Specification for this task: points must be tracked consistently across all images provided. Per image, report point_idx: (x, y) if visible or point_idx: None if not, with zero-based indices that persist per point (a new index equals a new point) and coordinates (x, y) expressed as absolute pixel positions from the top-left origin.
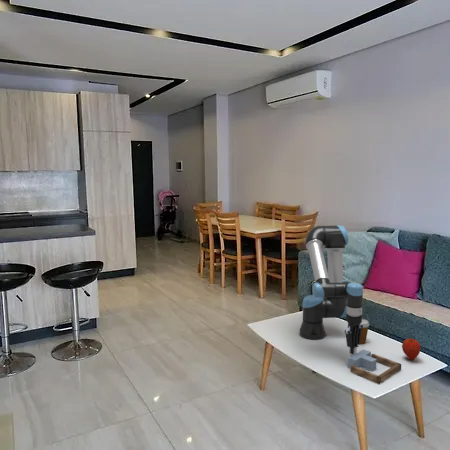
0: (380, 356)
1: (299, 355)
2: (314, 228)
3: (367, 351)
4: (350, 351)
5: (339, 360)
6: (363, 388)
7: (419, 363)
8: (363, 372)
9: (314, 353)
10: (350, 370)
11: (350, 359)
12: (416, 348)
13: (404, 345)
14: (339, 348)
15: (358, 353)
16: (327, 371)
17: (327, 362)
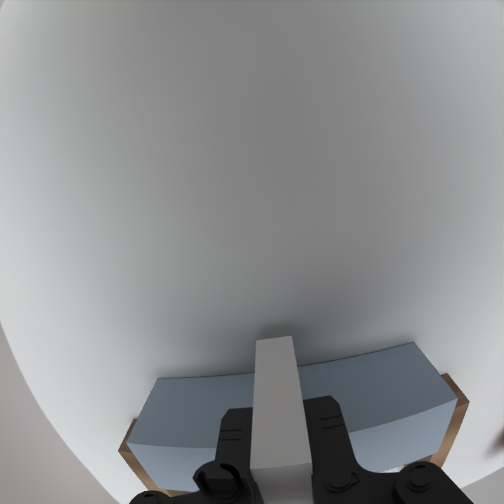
0: (449, 447)
1: (6, 34)
2: None
3: (430, 441)
4: (221, 439)
5: (176, 246)
6: (113, 490)
7: (499, 451)
8: None
9: (90, 18)
10: (130, 427)
11: (140, 455)
12: None
13: None
14: (397, 43)
15: None
16: (10, 320)
17: (57, 215)
